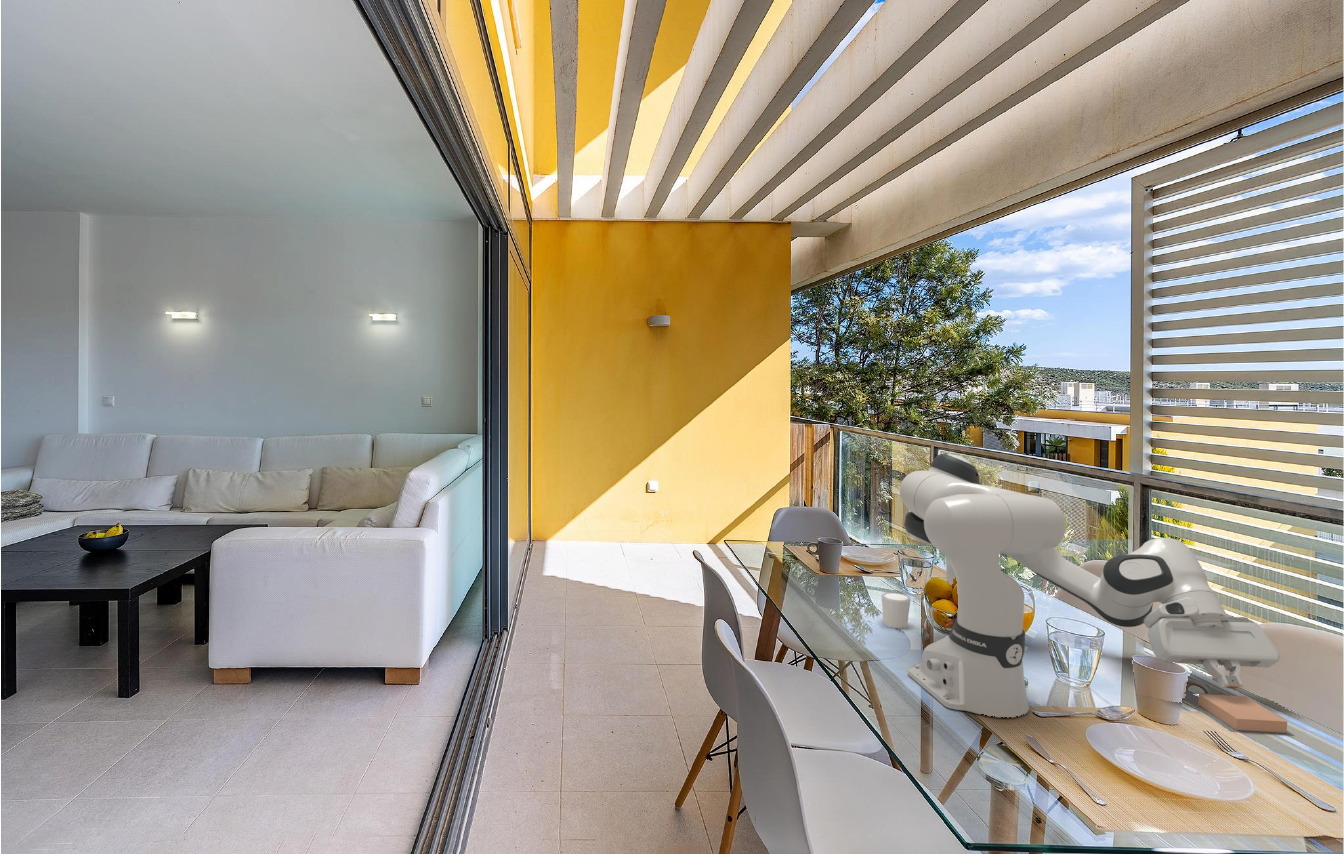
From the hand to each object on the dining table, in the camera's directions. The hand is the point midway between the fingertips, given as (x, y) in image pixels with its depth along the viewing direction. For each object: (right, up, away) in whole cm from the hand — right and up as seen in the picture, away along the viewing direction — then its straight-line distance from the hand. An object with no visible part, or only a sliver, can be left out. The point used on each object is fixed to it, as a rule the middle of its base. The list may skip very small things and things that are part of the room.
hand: (1232, 687), depth 118 cm
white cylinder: (-46, -2, +44) cm, 64 cm away
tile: (0, -3, +2) cm, 4 cm away
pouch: (-23, -2, +55) cm, 59 cm away
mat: (0, -5, 0) cm, 5 cm away
